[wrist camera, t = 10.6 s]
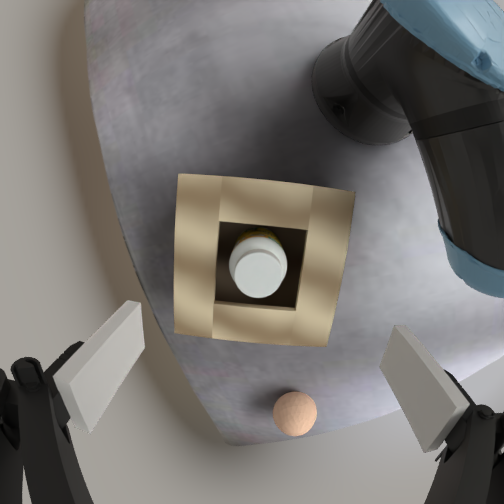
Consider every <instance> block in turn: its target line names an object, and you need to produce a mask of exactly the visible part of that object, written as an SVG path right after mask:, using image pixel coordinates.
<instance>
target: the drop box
mask: <svg viewBox="0 0 504 504" xmlns="http://www.w3.org/2000/svg"><path fill="white" fill-rule="evenodd" d="M354 200H355V192H352V191H346V190H340V189H334V188H327V187H320V186H313V185H305V184H297V183H289V182H281V181H272V180H262V179H252V178H240V177H228V176H214V175H197V174H178V185H177V200H176V218H175V242H174V328H175V333H178V334H184V335H191V336H198V337H206V338H214V339H222V340H231V341H241V342H252V343H263V344H277V345H293V346H316V347H326V346H327V342H328V338H329V334H330V330H331V326H332V322H333V318H334V314H335V309H336V305H337V300H338V295H339V291H340V286H341V281H342V276H343V270H344V265H345V260H346V254H347V248H348V242H349V236H350V229H351V222H352V215H353V208H354ZM254 227H264V228H267V229H269V230H271V231H273V232H274V233H275V234H276V235H277V237H278V238H279V240H280V242H281V245H282V248H283V250H284V253H285V255H286V259H287V271H286V274H285V277H284V279H283V280H282V282H281V284H280V286H279V287H278V289H277V290H276V291H275V292H274V293H272V294H271V295H269V296H266V297H263V298H254V297H250V296H248V295H246V294H244V293H243V292H242V291H241V290H240V289H239V288H238V287H237V285H236V283H235V282H234V280H233V278H232V276H231V274H230V270H229V260H230V256H231V253H232V251H233V248H234V245H235V243H236V240H237V238H238V237H239V236H240V234H241V233H242V232H244V231H245V230H247V229H250V228H254Z"/></svg>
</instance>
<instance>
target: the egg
mask: <svg viewBox="0 0 504 504" xmlns="http://www.w3.org/2000/svg"><path fill="white" fill-rule="evenodd" d="M316 416H317V410H316V405H315V403H314V401H313V399H312V398H311V397H310V396H308V395H306V394H305V393H302V392H289V393H286V394H284V395H283V396H281V397H280V398H279V399H278V400H277V402H276V403H275V405H274V408H273V418H274V421H275V424H276V425H277V427H278V428H279V429H280V430H281V431H282V432H283V433H285V434H287V435H290V436H299V435H303V434H305V433H306V432H308V431H309V430H310V429H311V427H312V426H313V424H314V422H315V420H316Z"/></svg>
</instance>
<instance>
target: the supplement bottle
mask: <svg viewBox="0 0 504 504" xmlns="http://www.w3.org/2000/svg"><path fill="white" fill-rule="evenodd" d="M229 270H230V274H231V276H232V278H233V280H234V282H235V283H236V285H237V287H238V288H239V289H240V290H241V291H242V292H243V293H244V294H246V295H248V296H250V297H254V298H263V297H266V296H269V295H271V294H272V293H274V292H275V291H276V290H277V289H278V287H279V286H280V284H281V282H282V280H283V279H284V277H285V274H286V271H287V259H286V255H285V253H284V250H283V248H282V245H281V242H280V240H279V238H278V237H277V235H276V234H275V233H274V232H273V231H271V230H269V229H267V228H264V227H254V228H250V229H247V230H245V231H244V232H242V233H241V234H240V236H239V237H238V238H237V240H236V243H235V245H234V248H233V251H232V253H231V256H230V260H229Z"/></svg>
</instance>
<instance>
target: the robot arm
mask: <svg viewBox="0 0 504 504" xmlns="http://www.w3.org/2000/svg"><path fill="white" fill-rule="evenodd" d="M312 88H313V93H314V96H315V99H316V102H317V104H318V106H319V108H320V110H321V111H322V113H323V114H324V116H325V117H326V118H327V119H328V121H329V122H330V123H331V124H332V125H333V126H334V127H335V128H337V129H338V130H339V131H340V132H342V133H343V134H345V135H346V136H348V137H350V138H351V139H353V140H356V141H358V142H361V143H365V144H369V145H387V144H391V143H395V142H398V141H401V140H403V139H405V138H407V137H408V136H410V135H411V134H412V133H413V134H414V137H415V140H416V143H417V146H418V149H419V151H420V154H421V157H422V160H423V163H424V166H425V169H426V172H427V176H428V179H429V182H430V186H431V189H432V193H433V197H434V201H435V205H436V209H437V213H438V217H439V219H438V227H439V230H440V232H441V234H442V236H443V239H444V243H445V248H446V252H447V257H448V260H449V263H450V265H451V268H452V269H453V271H454V272H455V274H456V275H457V276H458V277H459V278H461V279H463V280H464V282H465V283H466V284H467V285H468V286H470V287H471V288H473V289H475V290H477V291H479V292H481V293H484V294H487V295H490V296H494V297H499V298H504V11H503V10H502V9H501V8H500V7H499V6H498V5H497V4H496V3H495V2H494V1H493V0H373V1H372V2H371V4H370V5H369V7H368V8H367V10H366V11H365V13H364V14H363V16H362V18H361V19H360V21H359V22H358V24H357V25H356V27H355V28H354V30H353V32H352V33H351V34H350V35H348V36H346V37H343V38H340V39H338V40H335V41H334V42H332V43H330V44H329V45H328V46H327V47H326V48H325V49H324V50H323V51H322V52H321V54H320V55H319V57H318V59H317V61H316V63H315V66H314V69H313V73H312ZM144 348H145V344H144V335H143V324H142V312H141V303H140V302H134V301H129V300H127V301H126V302H125V303H124V304H123V305H122V306H121V307H120V308H119V309H118V310H117V311H116V312H115V313H114V314H113V315H112V316H111V317H110V318H109V319H108V320H107V321H106V322H105V323H104V324H103V325H102V326H101V327H100V328H99V329H98V330H97V331H96V332H95V333H94V334H93V335H92V336H91V337H90V338H89V339H88V340H87V341H86V342H85V343H84V342H81V341H79V342H77V343H75V344H73V345H71V346H70V347H69V348H68V349H67V350H66V351H64V354H61V355H60V356H59V359H57V360H56V361H54V362H53V364H52V365H51V366H50V367H49V368H48V369H47V370H46V371H45V372H44V373H43V370H42V367H41V365H40V362H39V361H38V360H37V359H35V358H32V357H24V358H20V359H19V360H17V361H15V362H14V363H13V364H12V366H11V372H12V374H13V377H14V379H15V381H14V380H9V379H7V376H6V374H5V372H4V371H3V370H2V369H0V504H22V481H23V466H24V470H25V476H26V480H27V485H28V490H29V494H30V498H31V502H32V504H94V503H93V501H92V498H91V496H90V494H89V491H88V489H87V486H86V483H85V481H84V478H83V475H82V472H81V470H80V467H79V464H78V460H77V457H76V454H75V451H74V448H73V444H72V440H71V436H70V433H69V429H68V426H67V422H68V421H69V419H70V418H71V420H72V422H73V424H74V426H75V427H76V428H78V429H80V430H82V431H85V432H87V433H91V432H92V430H93V429H94V427H95V425H96V424H97V422H98V420H99V419H100V417H101V416H102V414H103V412H104V411H105V409H106V407H107V406H108V404H109V403H110V401H111V399H112V398H113V396H114V394H115V393H116V391H117V389H118V388H119V387H120V385H121V383H122V382H123V380H124V379H125V377H126V376H127V374H128V373H129V371H130V369H131V368H132V366H133V365H134V363H135V362H136V360H137V359H138V357H139V356H140V354H141V352H142V351H143V349H144ZM379 367H380V369H381V371H382V373H383V374H384V376H385V378H386V380H387V382H388V383H389V385H390V387H391V389H392V391H393V393H394V395H395V396H396V398H397V400H398V402H399V404H400V406H401V408H402V410H403V412H404V414H405V415H406V417H407V419H408V421H409V423H410V425H411V427H412V429H413V431H414V433H415V435H416V437H417V439H418V441H419V444H420V445H421V448H422V450H423V452H424V453H426V452H429V451H432V450H436V449H438V447H439V446H440V445H441V444H442V443H443V441H444V440H445V441H446V443H447V446H446V447H445V448H444V449H443V451H442V452H441V453H440V454H439V455H438V457H437V458H436V459H435V461H437V460H438V459H439V458H440V457H441V460H440V462H439V466H438V469H437V472H436V475H435V478H434V481H433V483H432V486H431V488H430V491H429V493H428V496H427V499H426V501H425V503H424V504H504V452H503V453H501V449H502V448H503V447H504V412H503V413H494V411H493V410H492V409H491V408H490V407H488V406H486V405H476V404H475V403H474V402H473V400H472V399H471V398H470V396H469V395H468V394H467V393H466V391H465V390H464V389H463V388H462V386H461V385H460V384H459V383H458V381H457V380H456V379H455V377H454V376H453V375H452V374H450V373H449V372H448V371H446V370H443V369H442V368H441V366H440V365H439V364H438V363H437V361H436V360H435V359H434V358H433V357H432V355H431V354H430V353H429V352H428V351H427V349H426V348H425V347H424V346H423V345H422V344H421V342H420V341H419V340H418V339H417V338H416V337H415V335H414V334H413V333H412V332H411V331H410V330H409V329H408V327H407V326H406V325H394V327H393V330H392V333H391V336H390V339H389V342H388V345H387V348H386V351H385V353H384V356H383V359H382V361H381V364H380V366H379Z"/></svg>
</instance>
